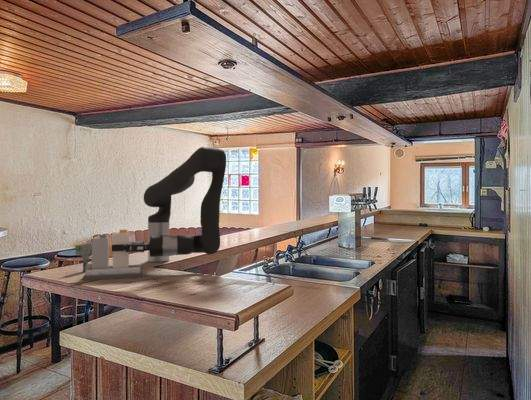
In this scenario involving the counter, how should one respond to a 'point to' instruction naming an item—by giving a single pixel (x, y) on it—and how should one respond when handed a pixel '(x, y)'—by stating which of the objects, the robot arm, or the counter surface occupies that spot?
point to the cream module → (121, 256)
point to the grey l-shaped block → (106, 263)
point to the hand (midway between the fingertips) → (112, 247)
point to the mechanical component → (84, 253)
